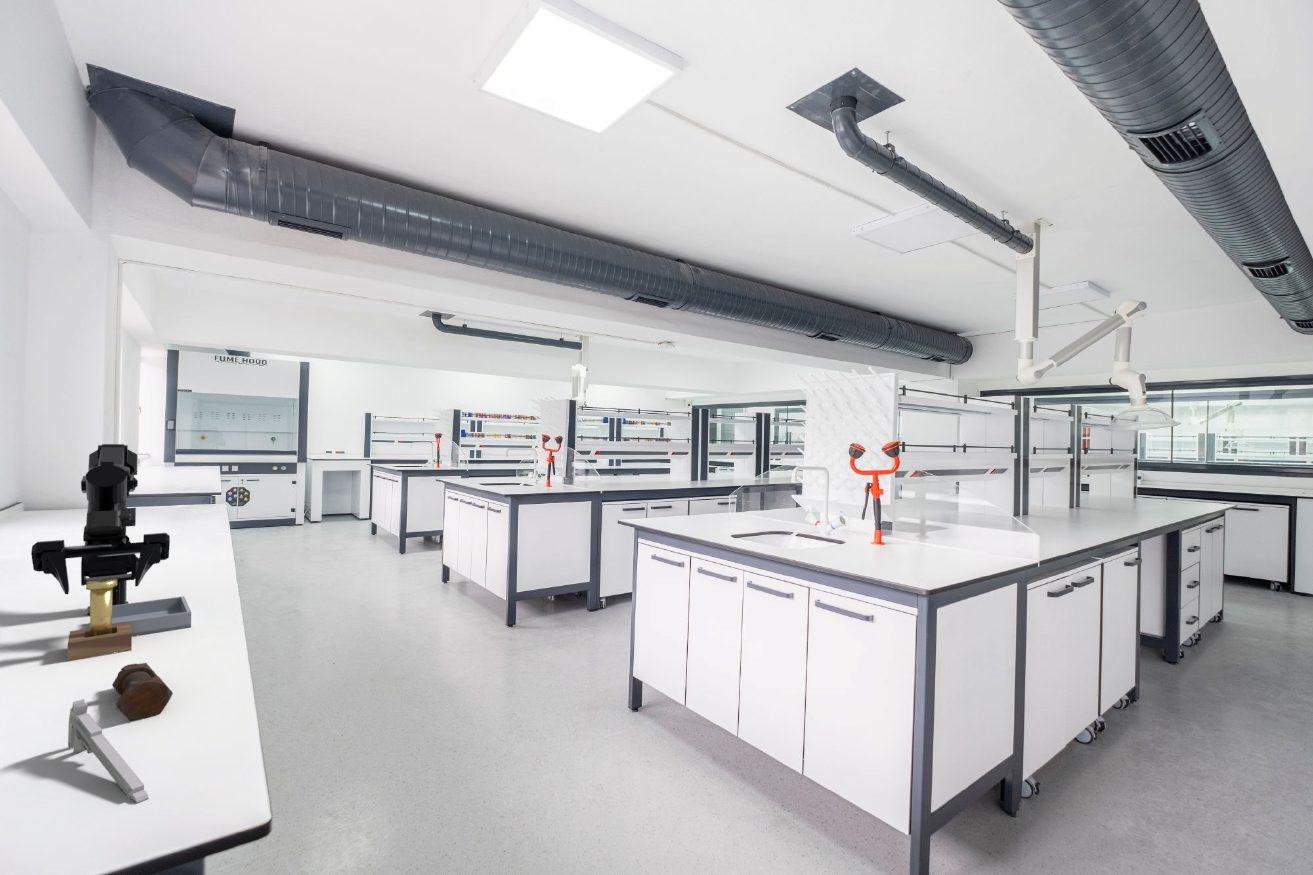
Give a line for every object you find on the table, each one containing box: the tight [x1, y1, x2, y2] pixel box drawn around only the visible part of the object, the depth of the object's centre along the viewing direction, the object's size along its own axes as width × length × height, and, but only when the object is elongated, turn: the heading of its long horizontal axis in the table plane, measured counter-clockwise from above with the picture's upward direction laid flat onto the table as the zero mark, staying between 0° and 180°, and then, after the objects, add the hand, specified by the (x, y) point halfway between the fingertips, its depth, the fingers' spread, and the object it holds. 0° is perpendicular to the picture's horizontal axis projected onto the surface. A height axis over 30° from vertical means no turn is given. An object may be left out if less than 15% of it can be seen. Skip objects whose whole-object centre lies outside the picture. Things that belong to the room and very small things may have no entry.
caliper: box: [67, 698, 150, 804], centre depth 67 cm, size 20×1×6 cm, turn 60°
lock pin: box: [85, 579, 117, 637], centre depth 104 cm, size 4×4×12 cm
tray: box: [112, 595, 192, 637], centre depth 118 cm, size 15×13×3 cm
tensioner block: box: [66, 622, 133, 662], centre depth 104 cm, size 8×8×3 cm
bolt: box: [112, 662, 174, 723], centre depth 85 cm, size 6×5×15 cm
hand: (102, 588), depth 106 cm, fingers open, 9 cm apart
